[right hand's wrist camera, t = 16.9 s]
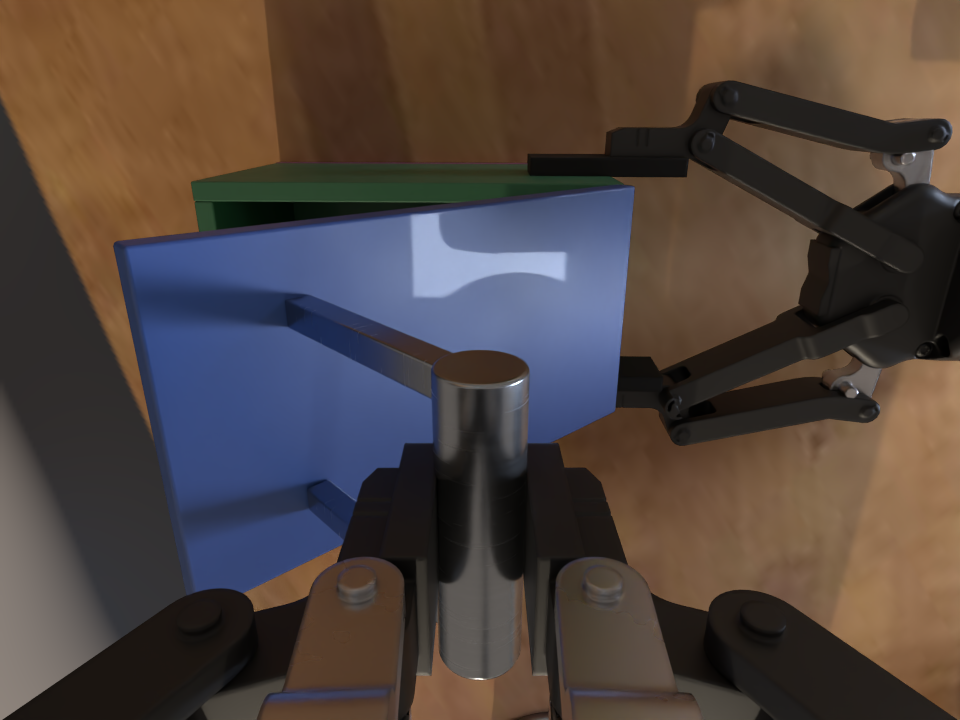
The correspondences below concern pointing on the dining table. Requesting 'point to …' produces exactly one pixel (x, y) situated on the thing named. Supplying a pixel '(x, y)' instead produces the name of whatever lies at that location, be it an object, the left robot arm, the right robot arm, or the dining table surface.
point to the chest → (361, 189)
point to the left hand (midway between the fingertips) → (525, 274)
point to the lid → (377, 382)
